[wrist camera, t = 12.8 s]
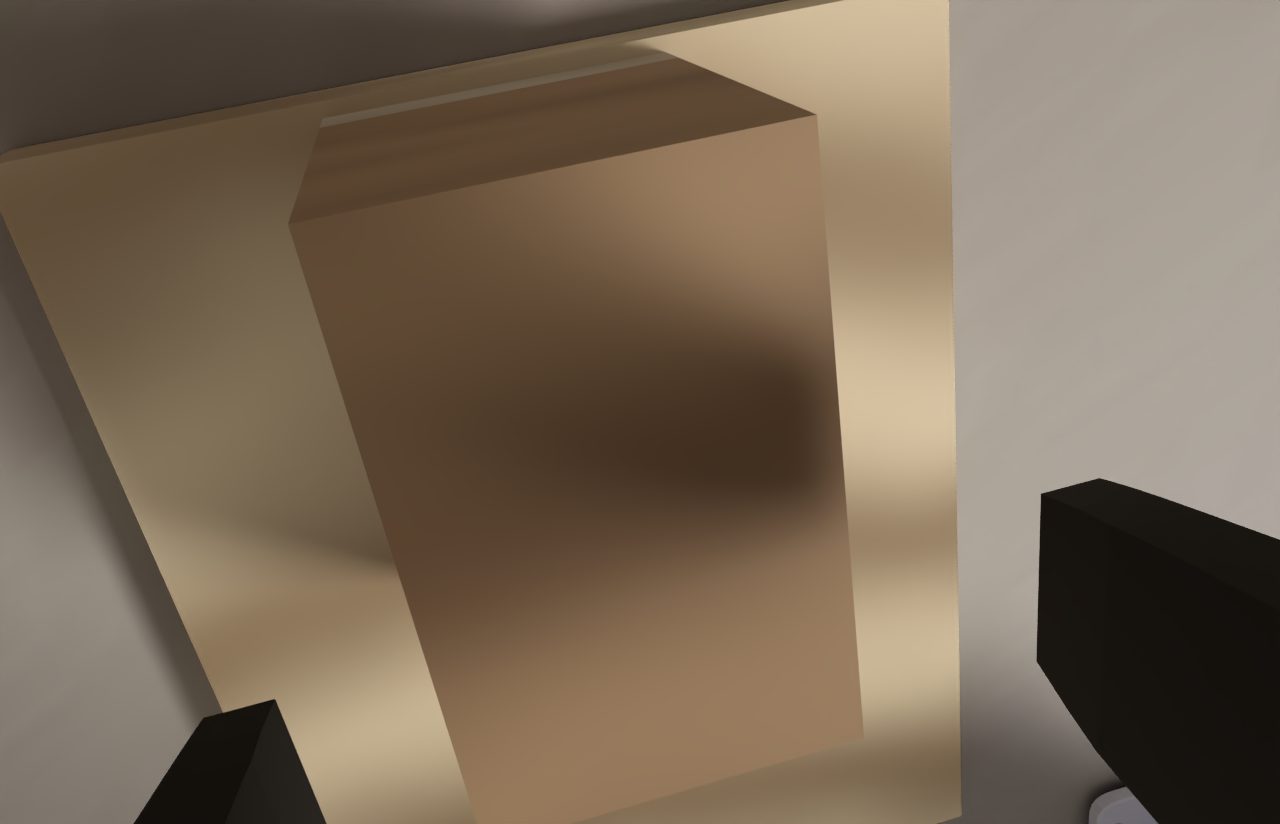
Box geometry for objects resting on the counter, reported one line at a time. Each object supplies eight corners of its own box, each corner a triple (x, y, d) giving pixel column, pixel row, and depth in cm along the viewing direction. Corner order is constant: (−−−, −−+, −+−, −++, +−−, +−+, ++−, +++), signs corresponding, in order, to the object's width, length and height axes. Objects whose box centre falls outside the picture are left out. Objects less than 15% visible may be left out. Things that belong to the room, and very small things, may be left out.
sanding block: (727, 509, 19) (864, 737, 13) (455, 580, 18) (485, 848, 13) (665, 52, 15) (817, 113, 10) (322, 118, 14) (287, 225, 9)
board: (936, 777, 25) (962, 817, 24) (354, 954, 23) (352, 1005, 22) (912, -23, 17) (949, -20, 16) (8, 149, 15) (-21, 167, 14)
